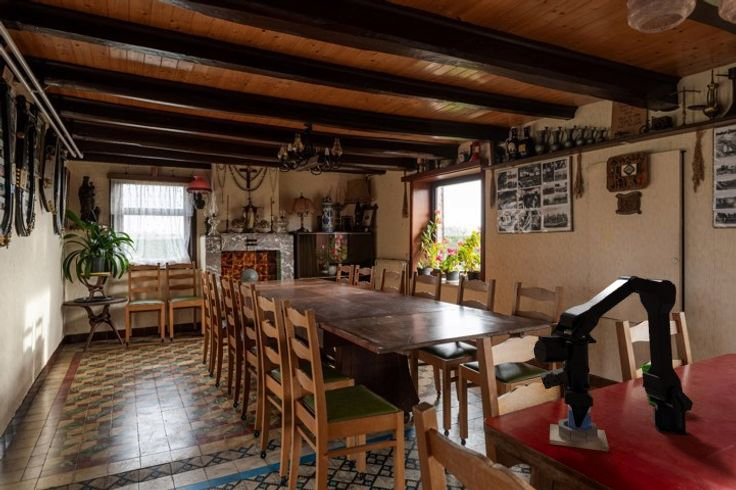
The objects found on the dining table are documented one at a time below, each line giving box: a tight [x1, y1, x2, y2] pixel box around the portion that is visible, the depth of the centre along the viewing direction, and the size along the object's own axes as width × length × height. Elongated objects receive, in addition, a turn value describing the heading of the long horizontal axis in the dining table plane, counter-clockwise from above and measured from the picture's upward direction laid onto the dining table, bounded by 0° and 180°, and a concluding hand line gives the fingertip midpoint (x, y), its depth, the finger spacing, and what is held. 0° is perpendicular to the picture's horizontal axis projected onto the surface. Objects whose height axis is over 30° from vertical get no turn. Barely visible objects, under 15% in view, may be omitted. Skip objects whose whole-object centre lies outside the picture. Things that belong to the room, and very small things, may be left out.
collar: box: [549, 417, 610, 452], centre depth 118 cm, size 13×11×4 cm
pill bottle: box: [567, 404, 592, 430], centre depth 118 cm, size 6×5×10 cm
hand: (577, 422), depth 118 cm, fingers open, 5 cm apart
